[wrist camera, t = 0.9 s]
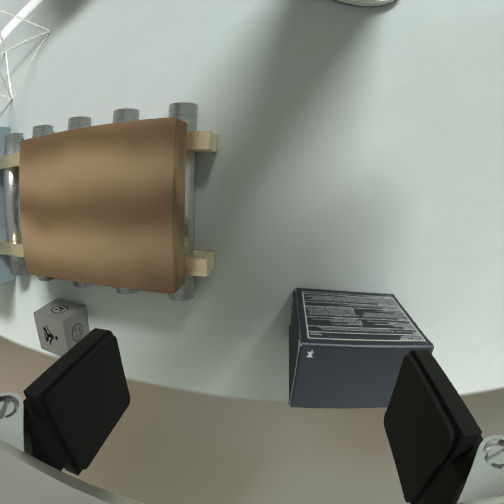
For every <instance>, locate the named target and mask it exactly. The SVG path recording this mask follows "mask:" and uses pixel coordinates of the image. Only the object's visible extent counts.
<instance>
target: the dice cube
mask: <svg viewBox="0 0 504 504" xmlns="http://www.w3.org/2000/svg"><path fill="white" fill-rule="evenodd" d="M34 318H35V323H36V327H37V332H38V336H39V340H40V344H41V348H42V349H44V350H46V351H49V352H52V353H54V354H57V355H60V356H63V355H64V354H65V353H66V352H68V351H69V350H70V349H71V348H72V347H73V346H74V345H76V344H77V343H78V342H79V341H80V340H81V339H83V338H84V337H85V336H86V335H87V334H88V333H90V331H89V325H88V318H87V311H86V305H82V304H77V303H73V302H69V301H65V300H61V299H55V300H54V301H52V302H50V303H49V304H47V305H45V306H44V307H42V308H40V309H39V310H37V311H36V312H34Z"/></svg>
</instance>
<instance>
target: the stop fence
mask: <svg viewBox="0 0 504 504" xmlns="http://www.w3.org/2000/svg"><path fill="white" fill-rule="evenodd" d="M7 134H10V127H0V157H1V156H4V144H5V135H7ZM4 239H6V229H5V215H4V190H3V170H0V240H4ZM15 278H16V275H12V274H11V270H10V263H9V256H8V255H3V254H0V285H2V284H4V283H6V282H8V281H11V280H13V279H15Z"/></svg>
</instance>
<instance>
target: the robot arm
mask: <svg viewBox="0 0 504 504" xmlns="http://www.w3.org/2000/svg"><path fill="white" fill-rule="evenodd" d="M337 1H340V2H344V3H347V4H352V5H357V6H380V5H384V4H388V3H390V2H392V1H395V0H337ZM24 394H25V396H26V399H25V400H24V401H23V400H22V398H21V397H20V396H19V395H17V394H15V393H11V392H5V393H1V394H0V504H145V503H141V502H138V501H135V500H132V499H128V498H126V497H123V496H120V495H117V494H114V493H111V492H109V491H106V490H103V489H100V488H98V487H96V486H93V485H90V484H88V483H86V482H84V481H81V480H79V479H77V478H75V477H72V476H70V475H68V474H66V473H64V472H62V471H61V470H62V469H63V468H65V469H66V470H67V471H69V472H71V473H74V474H76V475H79V474H80V473H81V471H82V470H83V469H87V468H88V466H89V465H90V463H91V462H92V460H93V459H94V457H95V456H96V454H97V453H98V451H99V449H100V447H101V446H102V445H103V443H104V442H105V440H106V439H107V437H108V436H109V434H110V433H111V431H112V429H113V428H114V427H115V425H116V424H117V422H118V420H119V419H120V418H121V416H122V415H123V413H124V412H125V410H126V408H127V407H128V405H129V403H130V395H129V391H128V387H127V383H126V379H125V375H124V370H123V366H122V362H121V357H120V352H119V347H118V342H117V338H116V337H115V336H113V334H112V332H111V331H109V330H104V329H98V328H95V329H93V330H92V331H91V332H90V333H88V334H87V335H86V336H85V337H84V338H83V339H81V340H80V341H79V342H78V343H77V344H76V345H74V346H73V347H72V348H71V349H70V350H69V351H68V352H66V353H65V354H64V355H63V356H62V357H61V358H60V359H58V360H57V361H56V362H55V363H54V364H53V365H52V366H51V367H49V368H48V369H47V370H46V371H45V372H44V373H43V374H42V375H41V376H40V377H38V378H37V379H36V380H35V381H34V382H33V383H32V384H31V385H30V386H29V387H27V388H26V389H25V390H24ZM384 427H385V430H386V433H387V437H388V440H389V443H390V447H391V450H392V453H393V457H394V460H395V464H396V468H397V471H398V475H399V479H400V483H401V486H402V490H403V494H404V498H405V501H406V502H407V503H409V502H410V504H504V436H500V435H494V436H490V437H487V438H485V439H484V440H483V439H482V437H481V433H482V431H481V430H480V428H479V426H478V425H477V423H476V421H475V420H474V418H473V416H472V415H471V413H470V412H469V410H468V408H467V407H466V405H465V403H464V402H463V400H462V399H461V397H460V396H459V394H458V393H457V391H456V389H455V388H454V386H453V385H452V383H451V382H450V380H449V379H448V377H447V376H446V374H445V373H444V371H443V370H442V369H441V367H440V366H439V364H438V363H437V361H436V360H435V358H434V357H433V356H432V354H431V353H430V351H429V350H428V349H420V350H411V351H410V352H409V354H408V355H405V356H404V358H403V361H402V364H401V368H400V371H399V374H398V378H397V381H396V384H395V387H394V390H393V393H392V396H391V399H390V402H389V405H388V408H387V411H386V413H385V417H384Z"/></svg>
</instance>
